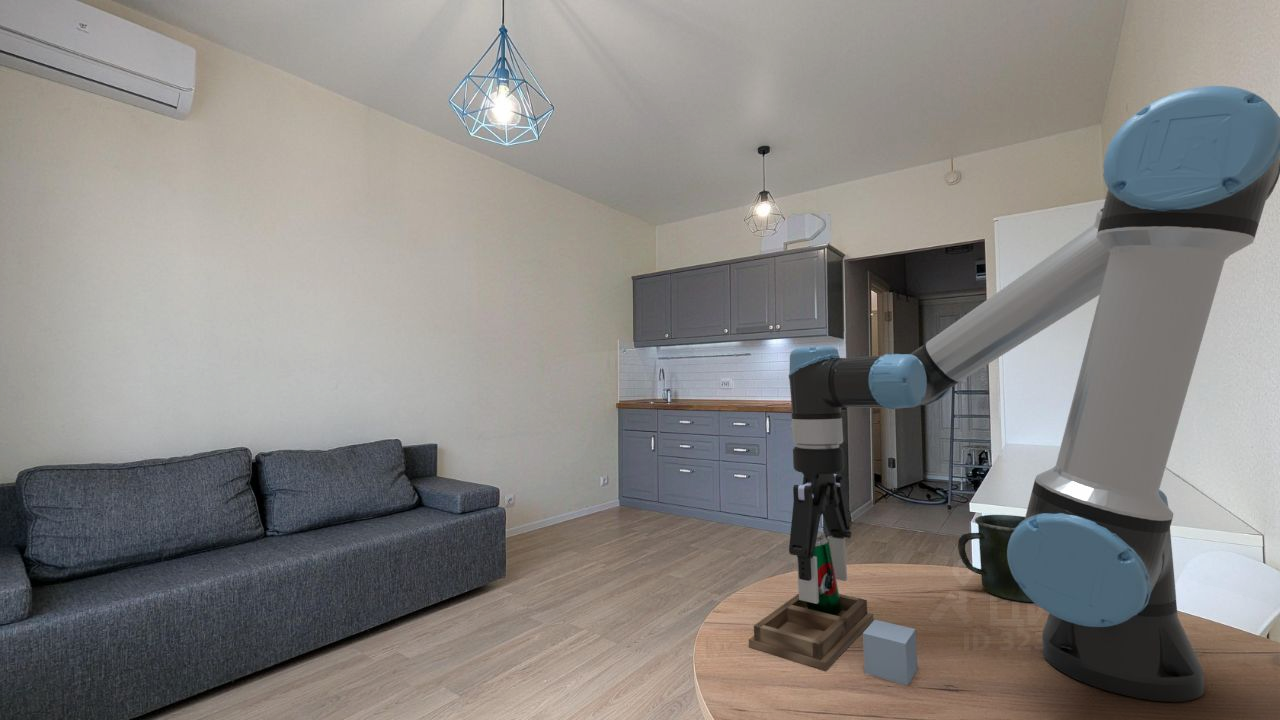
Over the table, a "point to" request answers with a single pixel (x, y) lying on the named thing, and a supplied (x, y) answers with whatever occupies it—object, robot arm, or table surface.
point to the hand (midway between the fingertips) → (824, 589)
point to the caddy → (811, 631)
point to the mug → (994, 555)
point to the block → (890, 652)
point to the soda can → (825, 579)
